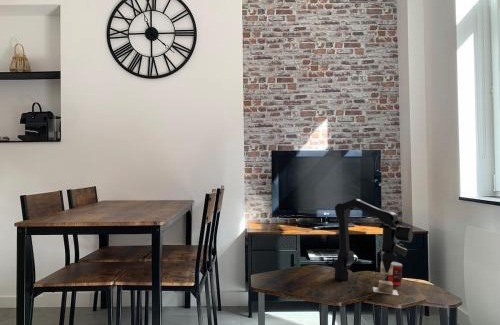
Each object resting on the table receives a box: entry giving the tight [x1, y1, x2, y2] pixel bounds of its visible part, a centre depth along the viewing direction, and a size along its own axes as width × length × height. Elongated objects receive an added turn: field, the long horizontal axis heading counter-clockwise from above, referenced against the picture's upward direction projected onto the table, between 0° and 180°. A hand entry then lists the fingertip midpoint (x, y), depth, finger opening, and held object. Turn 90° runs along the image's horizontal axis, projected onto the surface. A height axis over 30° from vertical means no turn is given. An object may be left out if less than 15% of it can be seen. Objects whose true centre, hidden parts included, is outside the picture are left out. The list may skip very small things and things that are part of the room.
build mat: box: [372, 286, 399, 296], centre depth 180 cm, size 11×8×1 cm
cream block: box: [377, 280, 394, 295], centre depth 180 cm, size 6×6×4 cm
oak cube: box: [379, 260, 393, 275], centre depth 181 cm, size 5×5×5 cm
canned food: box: [384, 261, 403, 287], centre depth 195 cm, size 8×8×11 cm
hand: (386, 271), depth 181 cm, fingers closed on oak cube, 5 cm apart
